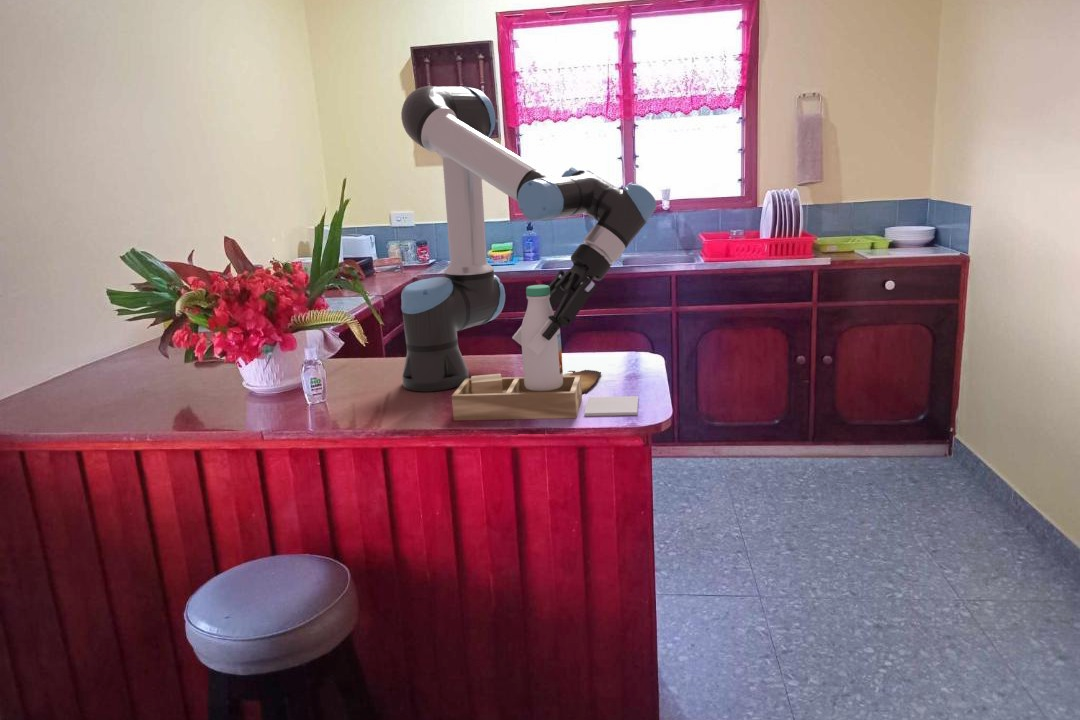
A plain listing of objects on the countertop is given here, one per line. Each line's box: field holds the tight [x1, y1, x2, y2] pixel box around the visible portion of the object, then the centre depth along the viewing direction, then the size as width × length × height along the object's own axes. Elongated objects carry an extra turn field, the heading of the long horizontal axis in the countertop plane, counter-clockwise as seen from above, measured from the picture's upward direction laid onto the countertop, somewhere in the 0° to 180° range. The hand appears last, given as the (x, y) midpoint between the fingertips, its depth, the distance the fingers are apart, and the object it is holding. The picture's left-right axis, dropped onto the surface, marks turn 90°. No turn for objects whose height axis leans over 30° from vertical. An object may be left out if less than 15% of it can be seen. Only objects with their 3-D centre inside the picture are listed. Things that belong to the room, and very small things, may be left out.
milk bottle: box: [520, 284, 564, 391], centre depth 153 cm, size 8×8×20 cm
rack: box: [451, 375, 583, 421], centre depth 157 cm, size 12×24×5 cm, turn 82°
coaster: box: [584, 395, 639, 417], centre depth 154 cm, size 10×10×1 cm
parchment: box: [563, 369, 602, 396], centre depth 170 cm, size 25×10×1 cm, turn 159°
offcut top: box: [470, 373, 503, 394], centre depth 157 cm, size 5×6×4 cm
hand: (524, 346), depth 152 cm, fingers closed on milk bottle, 8 cm apart
